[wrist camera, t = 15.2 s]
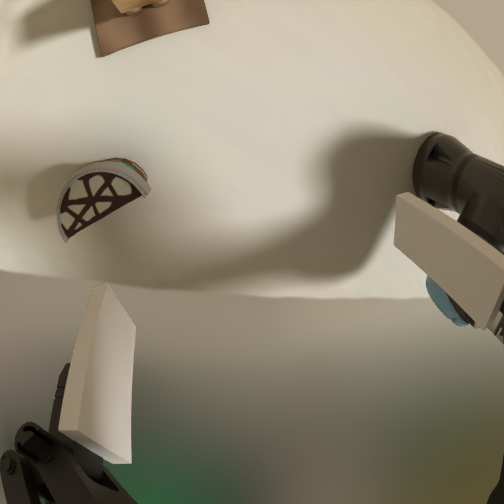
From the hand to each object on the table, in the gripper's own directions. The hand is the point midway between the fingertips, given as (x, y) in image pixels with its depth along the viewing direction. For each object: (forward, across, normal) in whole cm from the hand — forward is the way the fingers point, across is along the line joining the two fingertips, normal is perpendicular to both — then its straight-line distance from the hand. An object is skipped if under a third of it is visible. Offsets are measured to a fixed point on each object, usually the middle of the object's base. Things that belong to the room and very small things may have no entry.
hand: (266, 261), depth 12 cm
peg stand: (+29, +3, -24) cm, 38 cm away
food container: (+29, +14, -1) cm, 32 cm away
